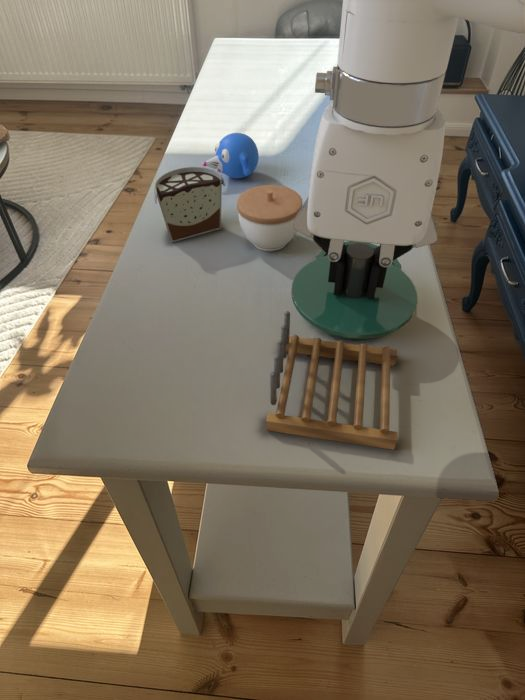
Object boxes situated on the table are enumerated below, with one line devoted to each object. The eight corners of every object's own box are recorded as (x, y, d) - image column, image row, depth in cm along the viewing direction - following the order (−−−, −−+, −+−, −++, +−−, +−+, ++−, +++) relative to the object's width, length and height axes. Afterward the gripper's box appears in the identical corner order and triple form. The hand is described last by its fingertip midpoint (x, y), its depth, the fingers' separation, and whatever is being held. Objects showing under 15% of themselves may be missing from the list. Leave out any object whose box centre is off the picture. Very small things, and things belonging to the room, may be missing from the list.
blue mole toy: (193, 172, 102) (188, 131, 96) (244, 159, 105) (242, 119, 99) (216, 198, 94) (212, 156, 88) (269, 183, 98) (269, 142, 92)
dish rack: (394, 359, 65) (407, 314, 59) (394, 449, 56) (409, 407, 49) (284, 345, 67) (286, 300, 61) (266, 430, 58) (265, 387, 52)
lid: (413, 268, 53) (426, 220, 49) (416, 351, 45) (432, 302, 40) (300, 256, 55) (302, 209, 50) (282, 334, 46) (283, 285, 42)
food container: (215, 210, 91) (210, 159, 84) (228, 226, 88) (224, 174, 80) (153, 227, 88) (142, 175, 80) (163, 244, 84) (153, 192, 77)
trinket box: (247, 264, 80) (245, 214, 73) (233, 229, 87) (229, 180, 80) (309, 253, 82) (312, 203, 75) (289, 219, 89) (291, 171, 82)
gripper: (267, 107, 34) (268, 303, 47) (511, 122, 32) (439, 323, 45) (284, 70, 39) (281, 258, 52) (495, 81, 37) (434, 274, 50)
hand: (354, 287), depth 49 cm, fingers closed on lid, 2 cm apart
